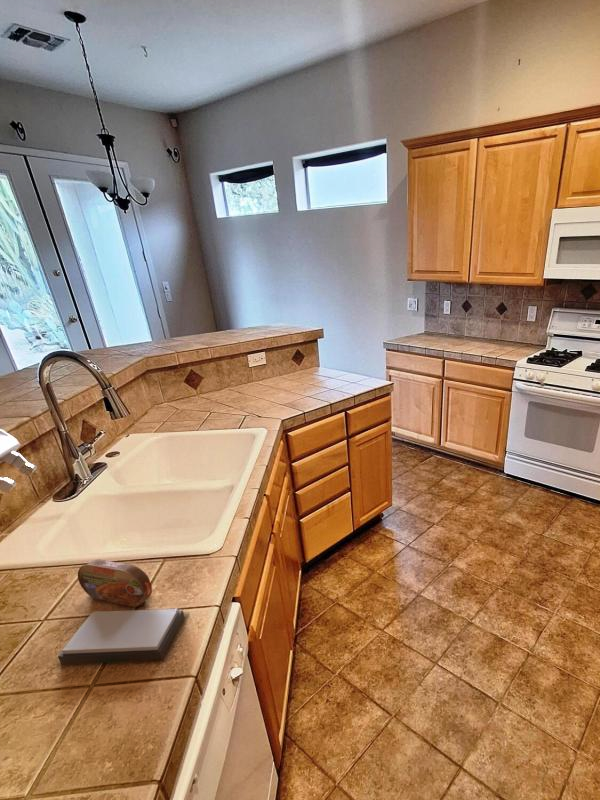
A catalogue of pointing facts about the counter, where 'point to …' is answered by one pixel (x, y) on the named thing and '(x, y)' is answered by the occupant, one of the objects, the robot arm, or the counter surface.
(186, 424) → the counter surface
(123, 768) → the counter surface
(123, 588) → the tin
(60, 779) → the counter surface
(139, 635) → the scale
